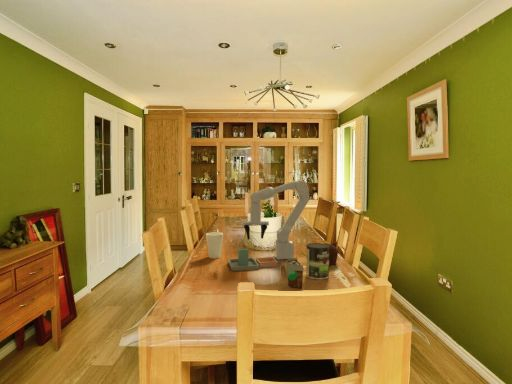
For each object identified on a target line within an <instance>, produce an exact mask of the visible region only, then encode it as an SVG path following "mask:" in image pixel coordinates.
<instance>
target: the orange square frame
mask: <svg viewBox="0 0 512 384" xmlns="http://www.w3.org/2000/svg"><path fill="white" fill-rule="evenodd" d="M255 261H256V262H257V263H258V265H259V269H260V268H261V269H262V268H273V267H275V268H277V267H278V265H279V264H278V263H279V262H278V260H277V259H275V257H274V256H265V257H255Z"/></svg>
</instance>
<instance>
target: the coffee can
mask: <svg viewBox="0 0 512 384" xmlns="http://www.w3.org/2000/svg"><path fill="white" fill-rule="evenodd" d="M305 246H306V264H305V265H306V268H305V269H306V272H305V275H306V277H307V278H309V279H311V280H317V281H318V280H326V279H328V278H330V266H329V247H330V246H329V245H327V244H326V243H320V242H313V243H312V242H311V243H307V244H306V245H305Z"/></svg>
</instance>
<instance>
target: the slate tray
mask: <svg viewBox="0 0 512 384" xmlns="http://www.w3.org/2000/svg"><path fill="white" fill-rule="evenodd" d="M227 264H228V266H229V268H230V269H231V272H238V271H240V272H241V271H254V270H260V268H259V265H258V263H257V262H256V259H255V258H253V257H248V266H239V265H238V258H230V259H229V258H228V262H227Z"/></svg>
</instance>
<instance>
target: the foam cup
mask: <svg viewBox="0 0 512 384" xmlns="http://www.w3.org/2000/svg"><path fill="white" fill-rule="evenodd" d="M205 239H206V244H207V246H206V247H207V252H208V257H209V259H219V258H221V256H222V250H223V249H222V248H223V241H224V240H223V239H224V233H223V232H219V231H211V232H206V234H205Z"/></svg>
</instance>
